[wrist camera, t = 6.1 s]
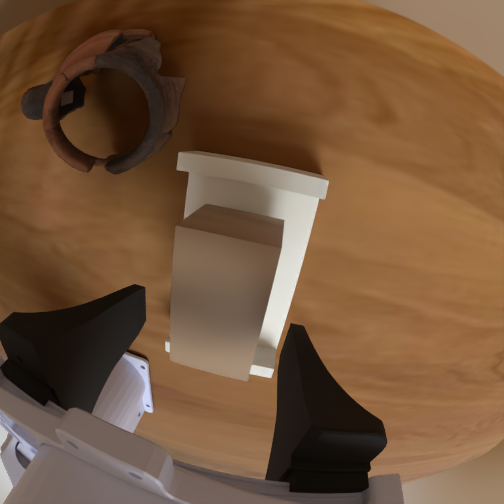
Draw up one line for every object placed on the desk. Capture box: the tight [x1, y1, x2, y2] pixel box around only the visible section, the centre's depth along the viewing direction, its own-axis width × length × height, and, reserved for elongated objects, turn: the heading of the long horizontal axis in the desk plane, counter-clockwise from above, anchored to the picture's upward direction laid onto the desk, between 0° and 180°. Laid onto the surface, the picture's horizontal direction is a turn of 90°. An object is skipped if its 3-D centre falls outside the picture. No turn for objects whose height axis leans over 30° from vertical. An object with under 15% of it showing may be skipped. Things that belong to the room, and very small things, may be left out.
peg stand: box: [166, 151, 329, 378], centre depth 18 cm, size 14×8×3 cm, turn 170°
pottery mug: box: [21, 29, 186, 174], centre depth 14 cm, size 12×10×8 cm
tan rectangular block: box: [170, 204, 285, 381], centre depth 15 cm, size 8×4×4 cm, turn 169°
